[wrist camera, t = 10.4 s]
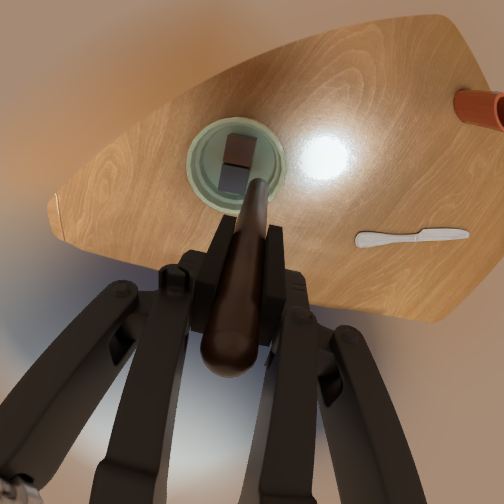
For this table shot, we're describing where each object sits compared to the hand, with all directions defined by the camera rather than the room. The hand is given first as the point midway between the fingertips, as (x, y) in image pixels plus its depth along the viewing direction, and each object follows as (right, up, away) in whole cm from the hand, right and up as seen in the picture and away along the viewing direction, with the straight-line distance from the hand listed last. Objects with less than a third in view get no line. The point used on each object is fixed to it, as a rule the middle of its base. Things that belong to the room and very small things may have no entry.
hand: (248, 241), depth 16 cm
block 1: (-1, +13, +18) cm, 23 cm away
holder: (+34, +22, +11) cm, 42 cm away
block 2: (-2, +10, +20) cm, 23 cm away
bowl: (-1, +12, +20) cm, 23 cm away
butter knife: (+28, +2, +23) cm, 36 cm away
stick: (+1, +6, +11) cm, 13 cm away
